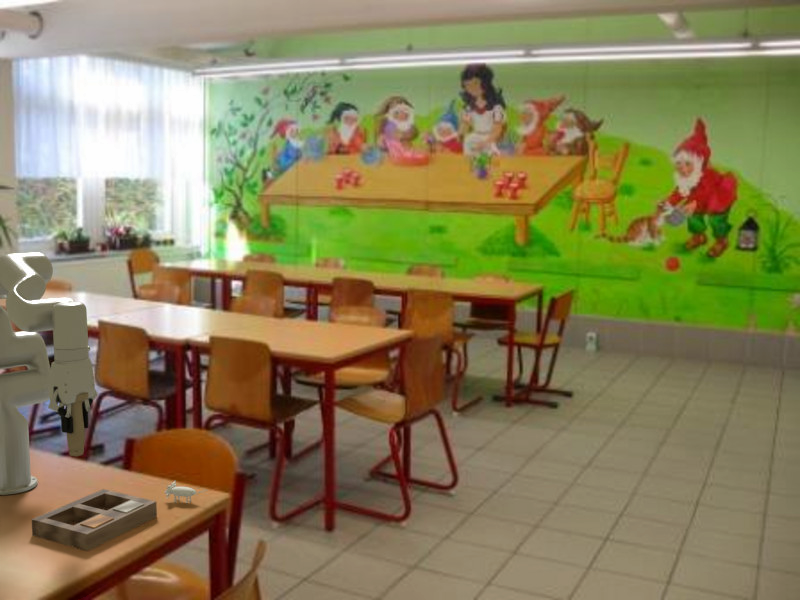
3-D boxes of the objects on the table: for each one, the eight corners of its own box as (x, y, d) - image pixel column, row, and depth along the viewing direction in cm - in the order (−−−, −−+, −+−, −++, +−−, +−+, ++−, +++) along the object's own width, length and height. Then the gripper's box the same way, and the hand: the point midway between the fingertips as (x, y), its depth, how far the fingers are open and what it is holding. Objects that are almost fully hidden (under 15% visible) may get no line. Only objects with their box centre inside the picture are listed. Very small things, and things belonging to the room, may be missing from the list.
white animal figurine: (160, 503, 213) (160, 486, 213) (170, 496, 219) (170, 479, 218) (203, 508, 211) (202, 490, 210) (212, 500, 216) (211, 483, 215)
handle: (90, 456, 195) (88, 394, 193) (61, 459, 193) (58, 397, 191) (91, 450, 199) (88, 390, 197) (62, 453, 197) (59, 392, 195)
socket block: (32, 535, 193) (31, 518, 193) (103, 503, 213) (103, 487, 212) (87, 551, 185) (86, 533, 185) (156, 516, 205) (156, 500, 204)
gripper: (87, 347, 202) (90, 419, 204) (30, 359, 187) (34, 437, 189) (110, 349, 198) (113, 423, 201) (54, 362, 183) (58, 441, 186)
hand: (75, 429), depth 195 cm, fingers closed on handle, 3 cm apart
